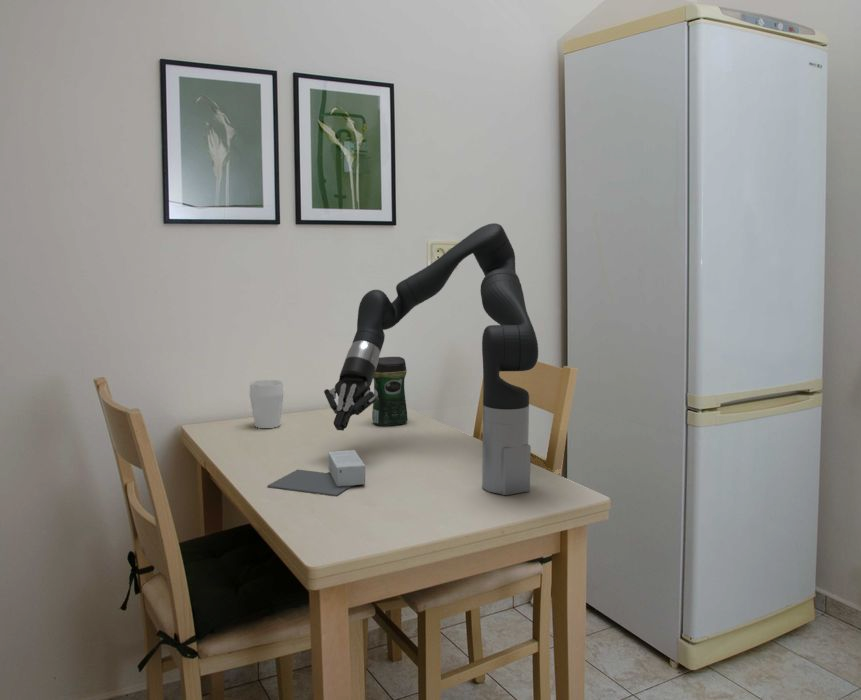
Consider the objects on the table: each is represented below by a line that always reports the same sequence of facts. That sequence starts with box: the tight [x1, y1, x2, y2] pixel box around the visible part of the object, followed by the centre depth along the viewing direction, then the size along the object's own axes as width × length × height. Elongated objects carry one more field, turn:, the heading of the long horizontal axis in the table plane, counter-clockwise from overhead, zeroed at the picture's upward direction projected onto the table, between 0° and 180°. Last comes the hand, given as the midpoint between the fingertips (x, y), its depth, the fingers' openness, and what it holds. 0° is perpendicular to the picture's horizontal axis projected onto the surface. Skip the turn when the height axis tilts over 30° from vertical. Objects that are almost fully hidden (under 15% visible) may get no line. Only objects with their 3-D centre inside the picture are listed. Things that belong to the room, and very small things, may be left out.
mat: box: [266, 469, 354, 497], centre depth 157 cm, size 12×16×1 cm
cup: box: [249, 379, 285, 429], centre depth 205 cm, size 9×9×12 cm
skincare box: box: [327, 449, 366, 487], centre depth 159 cm, size 6×4×12 cm
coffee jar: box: [371, 356, 409, 427], centre depth 208 cm, size 10×8×19 cm
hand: (338, 428), depth 167 cm, fingers closed
